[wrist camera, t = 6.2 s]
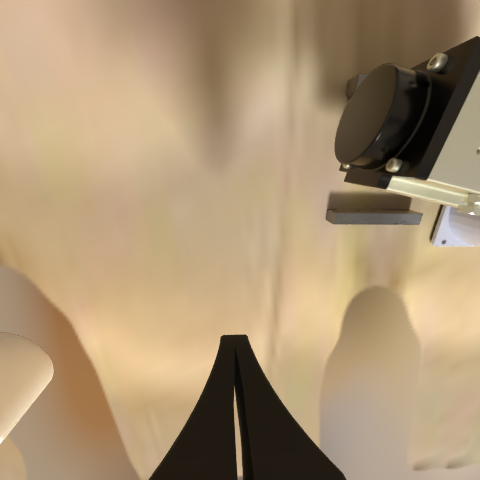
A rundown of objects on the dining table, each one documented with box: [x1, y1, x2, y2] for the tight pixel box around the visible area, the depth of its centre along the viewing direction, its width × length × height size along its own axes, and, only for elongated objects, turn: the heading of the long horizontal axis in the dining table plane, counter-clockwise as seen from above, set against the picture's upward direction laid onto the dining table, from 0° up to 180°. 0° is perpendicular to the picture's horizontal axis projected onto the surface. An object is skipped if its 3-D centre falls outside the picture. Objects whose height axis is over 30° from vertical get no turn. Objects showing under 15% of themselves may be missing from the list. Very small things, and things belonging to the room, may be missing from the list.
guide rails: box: [326, 74, 423, 225], centre depth 18 cm, size 8×11×2 cm
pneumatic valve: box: [335, 36, 480, 216], centre depth 13 cm, size 6×12×12 cm, turn 78°
